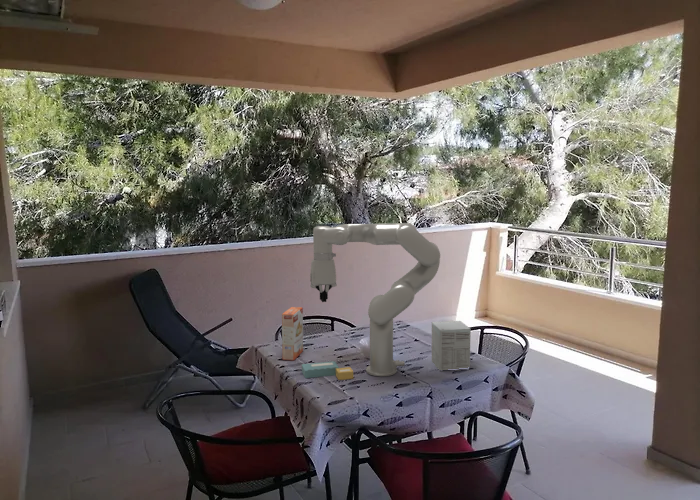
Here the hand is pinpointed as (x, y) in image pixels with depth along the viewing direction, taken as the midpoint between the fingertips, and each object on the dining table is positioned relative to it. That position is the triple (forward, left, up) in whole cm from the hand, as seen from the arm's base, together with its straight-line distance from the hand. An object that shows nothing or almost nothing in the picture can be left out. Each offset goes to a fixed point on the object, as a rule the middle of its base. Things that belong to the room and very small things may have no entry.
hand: (323, 301), depth 220 cm
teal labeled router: (+2, +3, -29) cm, 29 cm away
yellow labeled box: (-6, +10, -29) cm, 31 cm away
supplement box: (-52, +9, -29) cm, 60 cm away
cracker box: (+10, -22, -29) cm, 38 cm away
